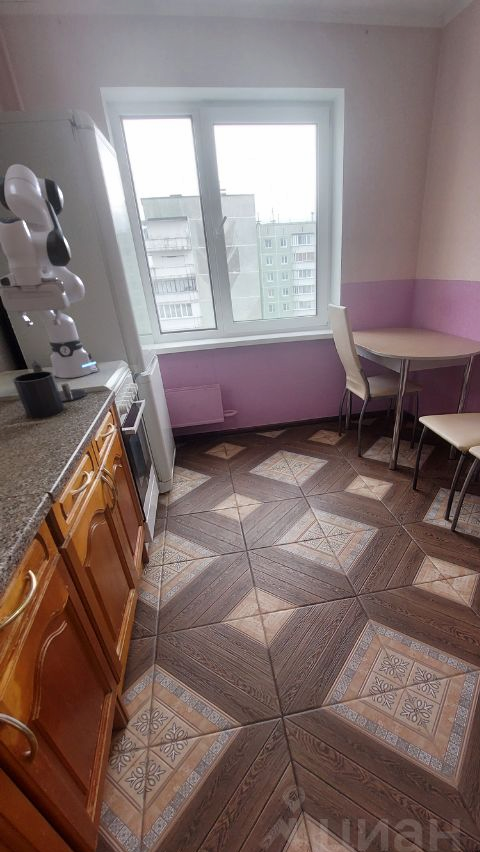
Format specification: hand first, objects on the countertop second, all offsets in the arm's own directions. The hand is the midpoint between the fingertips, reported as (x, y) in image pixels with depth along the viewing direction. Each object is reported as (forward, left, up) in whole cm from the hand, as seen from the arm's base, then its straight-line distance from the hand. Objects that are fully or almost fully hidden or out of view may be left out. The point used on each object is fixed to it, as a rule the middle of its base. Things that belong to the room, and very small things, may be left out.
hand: (43, 325), depth 127 cm
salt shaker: (-12, -10, -25) cm, 30 cm away
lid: (+1, +1, -25) cm, 25 cm away
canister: (+15, -4, -25) cm, 30 cm away
